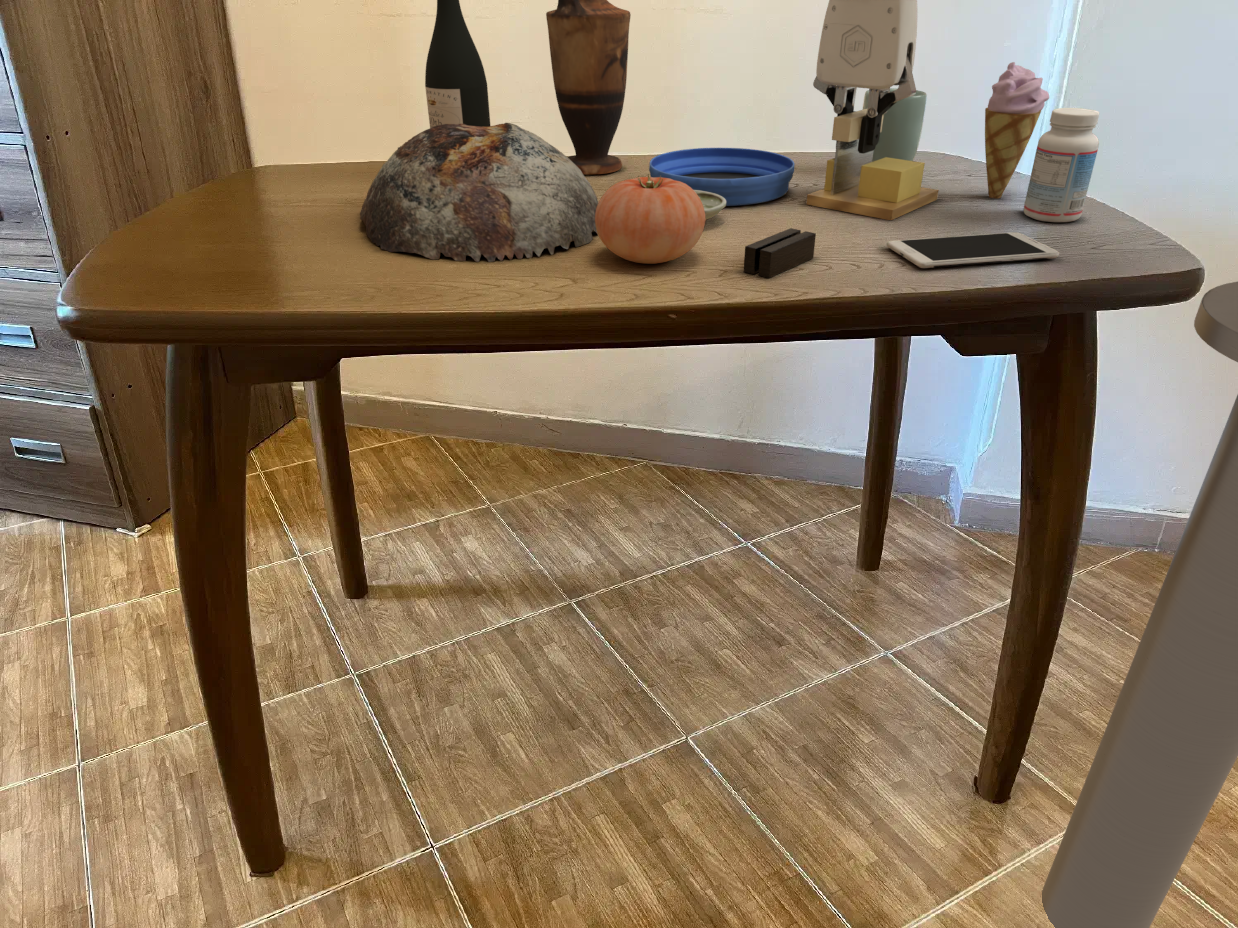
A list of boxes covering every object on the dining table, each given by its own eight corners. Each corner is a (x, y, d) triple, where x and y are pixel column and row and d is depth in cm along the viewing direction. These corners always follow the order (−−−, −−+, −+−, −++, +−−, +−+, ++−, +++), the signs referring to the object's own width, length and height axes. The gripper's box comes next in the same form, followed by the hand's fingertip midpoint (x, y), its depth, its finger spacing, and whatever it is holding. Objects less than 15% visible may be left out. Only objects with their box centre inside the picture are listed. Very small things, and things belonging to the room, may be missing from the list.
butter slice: (861, 183, 108) (865, 154, 107) (837, 192, 105) (840, 162, 103) (848, 181, 109) (852, 152, 108) (823, 190, 106) (827, 160, 104)
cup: (895, 163, 123) (906, 87, 118) (925, 175, 117) (939, 95, 112) (845, 167, 122) (854, 90, 116) (873, 179, 115) (884, 98, 110)
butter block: (920, 193, 104) (925, 162, 102) (896, 203, 100) (901, 171, 98) (881, 186, 107) (885, 157, 105) (857, 196, 103) (861, 165, 101)
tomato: (726, 262, 86) (730, 179, 82) (636, 283, 81) (636, 196, 77) (660, 236, 94) (662, 159, 90) (575, 254, 89) (572, 173, 84)
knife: (876, 182, 109) (886, 109, 104) (839, 196, 103) (849, 119, 98) (860, 180, 110) (869, 107, 105) (823, 193, 104) (831, 117, 100)
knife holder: (813, 258, 87) (816, 233, 86) (768, 278, 82) (770, 252, 80) (788, 252, 88) (790, 228, 87) (743, 272, 83) (744, 246, 82)
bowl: (722, 168, 122) (723, 141, 120) (821, 192, 109) (825, 163, 107) (620, 188, 112) (619, 159, 110) (716, 217, 100) (717, 186, 98)
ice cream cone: (989, 188, 111) (1016, 58, 103) (1035, 197, 107) (1067, 63, 99) (959, 196, 107) (984, 62, 100) (1005, 206, 103) (1035, 67, 95)
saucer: (671, 237, 93) (672, 214, 92) (623, 217, 100) (623, 195, 99) (742, 223, 98) (744, 201, 96) (692, 205, 105) (692, 184, 103)
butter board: (937, 200, 106) (938, 189, 105) (891, 220, 98) (892, 209, 98) (855, 186, 112) (856, 176, 112) (806, 204, 105) (807, 194, 104)
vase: (592, 157, 129) (586, -83, 113) (646, 168, 122) (648, -85, 107) (536, 169, 122) (523, -84, 107) (591, 181, 115) (585, -87, 100)
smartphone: (884, 240, 89) (1018, 231, 91) (883, 246, 89) (1016, 237, 92) (920, 263, 83) (1062, 252, 85) (919, 269, 83) (1061, 259, 85)
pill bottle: (1066, 209, 102) (1092, 106, 96) (1089, 224, 96) (1118, 115, 91) (1013, 209, 102) (1036, 106, 96) (1033, 224, 97) (1059, 116, 91)
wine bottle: (455, 184, 115) (427, -85, 99) (424, 174, 120) (393, -83, 104) (505, 174, 119) (486, -85, 104) (473, 165, 124) (450, -83, 109)
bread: (561, 178, 117) (557, 98, 112) (643, 245, 91) (644, 145, 86) (351, 195, 110) (337, 111, 105) (375, 275, 83) (358, 167, 78)
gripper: (794, -27, 97) (780, 146, 106) (932, -25, 88) (903, 164, 97) (829, -29, 102) (813, 137, 111) (963, -28, 92) (933, 153, 102)
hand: (855, 148), depth 104 cm, fingers closed on knife, 2 cm apart
